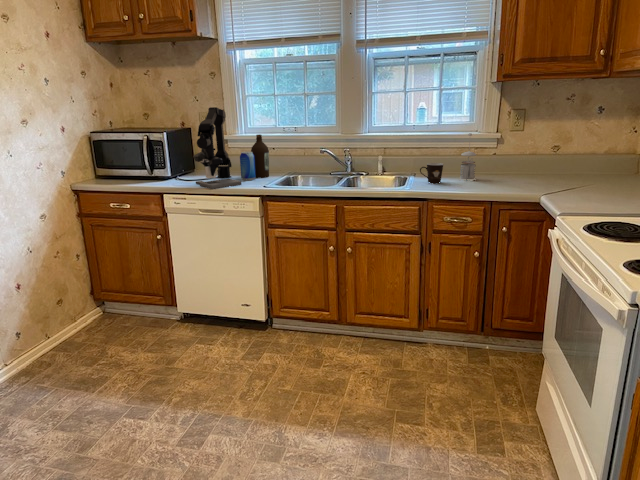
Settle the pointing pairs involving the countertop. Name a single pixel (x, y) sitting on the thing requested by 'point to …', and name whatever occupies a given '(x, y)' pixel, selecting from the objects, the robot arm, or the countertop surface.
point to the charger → (209, 173)
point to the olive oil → (261, 158)
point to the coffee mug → (433, 172)
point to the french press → (468, 165)
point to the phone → (199, 182)
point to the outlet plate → (220, 183)
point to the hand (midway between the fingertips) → (210, 175)
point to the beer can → (247, 166)
